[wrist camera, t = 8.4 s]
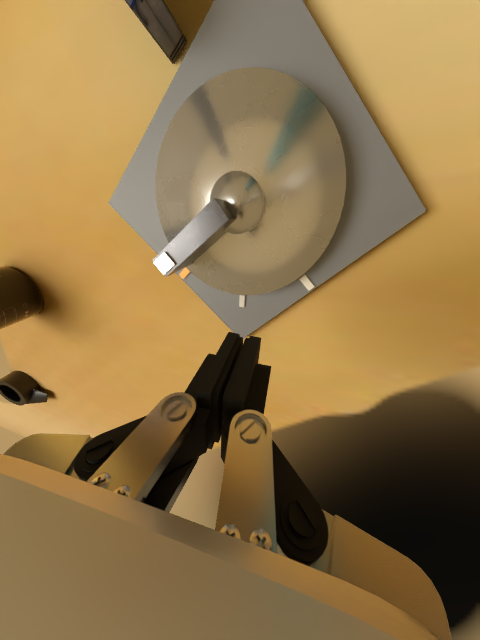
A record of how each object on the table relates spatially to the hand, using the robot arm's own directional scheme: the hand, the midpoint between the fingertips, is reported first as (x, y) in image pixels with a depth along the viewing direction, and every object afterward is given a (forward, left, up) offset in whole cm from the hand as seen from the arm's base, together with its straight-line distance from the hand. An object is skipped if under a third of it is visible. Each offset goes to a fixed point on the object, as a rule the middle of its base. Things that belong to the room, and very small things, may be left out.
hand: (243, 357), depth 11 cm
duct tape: (+46, -14, -11) cm, 50 cm away
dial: (-4, -7, -10) cm, 12 cm away
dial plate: (-4, -7, -11) cm, 13 cm away
